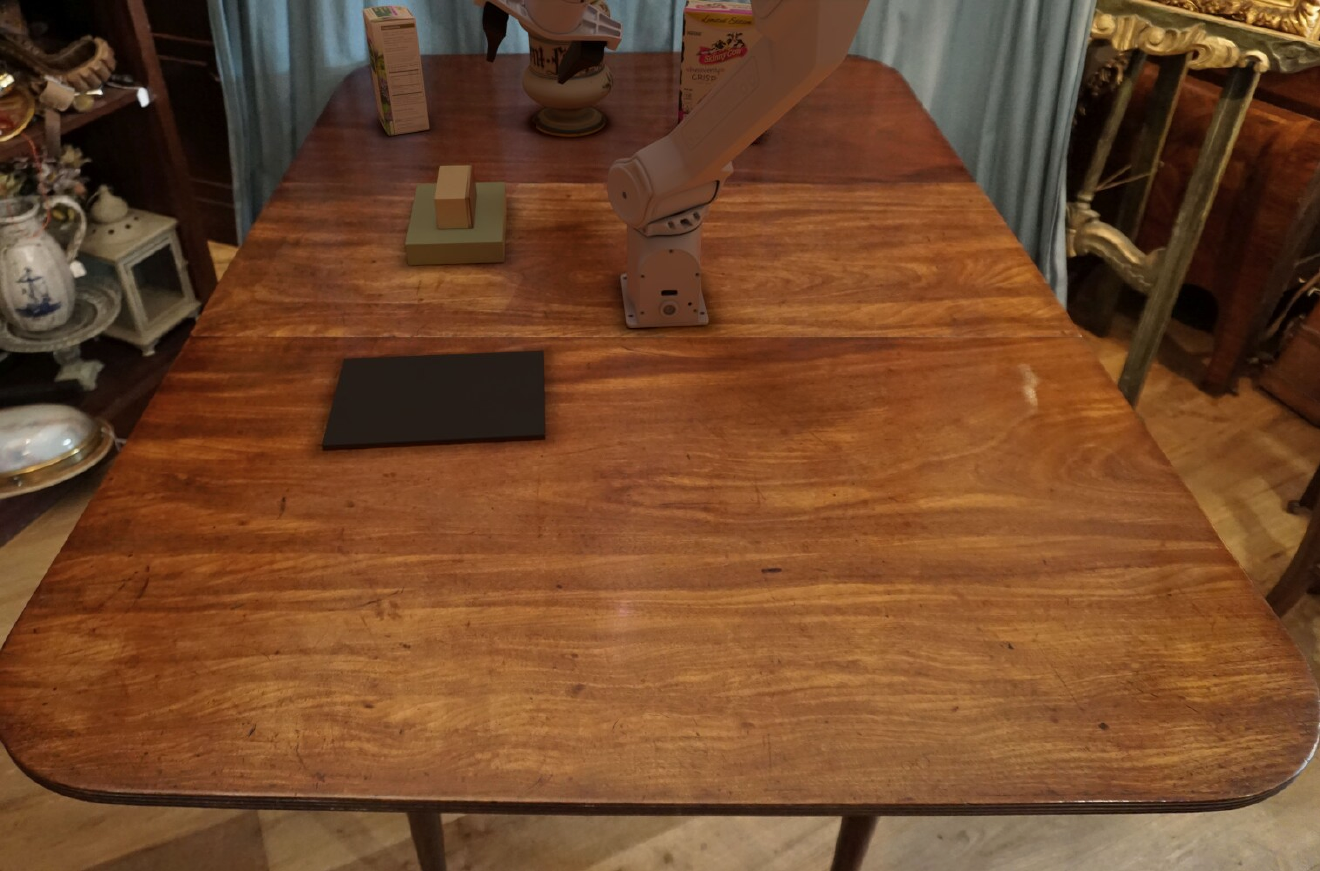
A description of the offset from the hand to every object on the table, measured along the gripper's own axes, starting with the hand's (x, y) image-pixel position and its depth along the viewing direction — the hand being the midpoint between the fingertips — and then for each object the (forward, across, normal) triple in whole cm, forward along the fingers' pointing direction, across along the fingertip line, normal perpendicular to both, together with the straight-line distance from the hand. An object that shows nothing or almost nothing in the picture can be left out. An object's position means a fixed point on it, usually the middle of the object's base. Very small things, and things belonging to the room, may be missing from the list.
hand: (526, 65), depth 98 cm
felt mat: (-4, +6, +39) cm, 40 cm away
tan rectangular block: (+11, +4, +13) cm, 17 cm away
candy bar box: (+15, -30, -10) cm, 36 cm away
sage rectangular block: (+12, +3, +14) cm, 19 cm away
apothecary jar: (+24, -12, -12) cm, 30 cm away
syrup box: (+32, +8, -10) cm, 34 cm away
